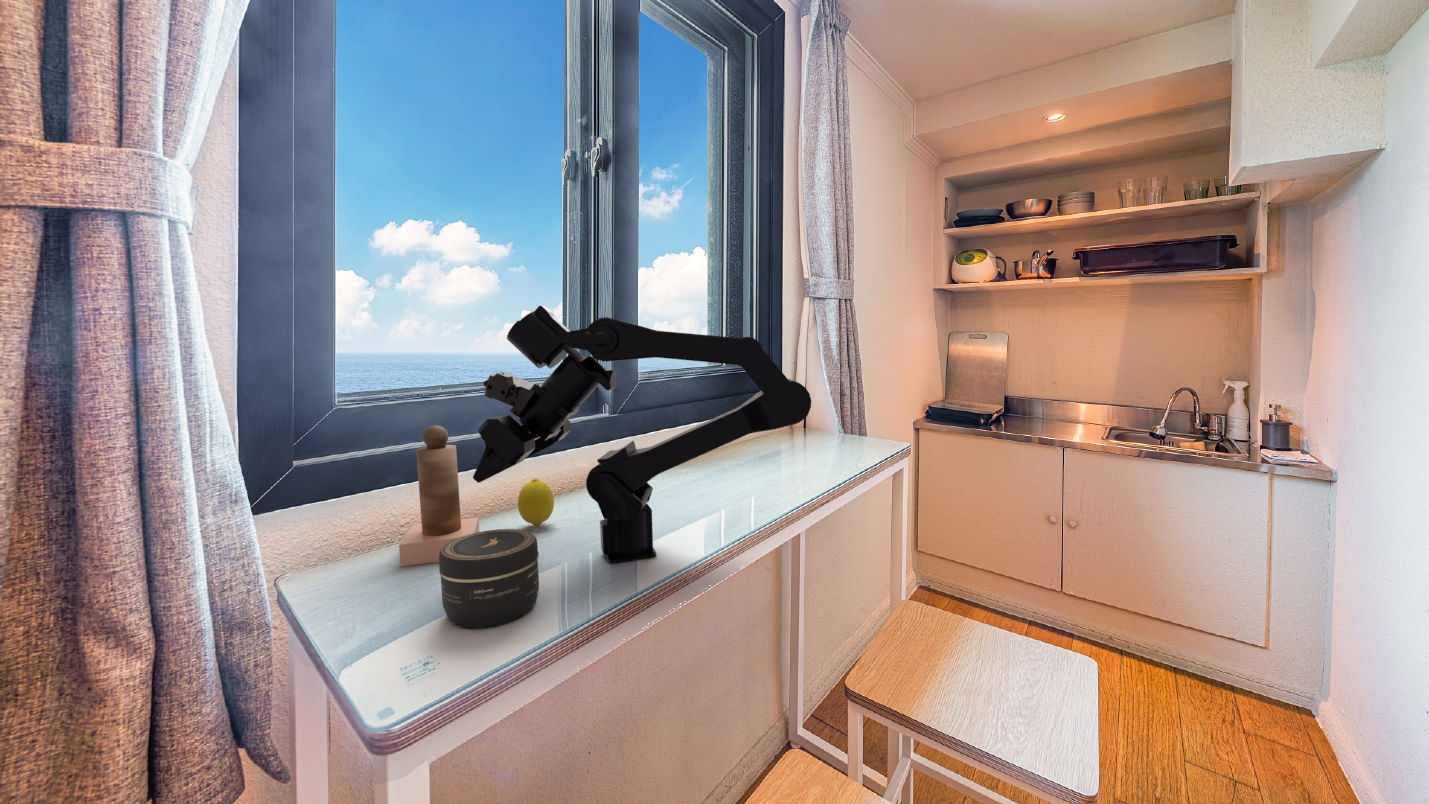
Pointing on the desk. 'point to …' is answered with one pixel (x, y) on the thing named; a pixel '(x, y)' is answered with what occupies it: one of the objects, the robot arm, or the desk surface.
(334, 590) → the desk surface
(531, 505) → the lemon
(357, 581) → the desk surface
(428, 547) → the pink block base
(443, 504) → the pepper mill
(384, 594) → the desk surface
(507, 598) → the jar
